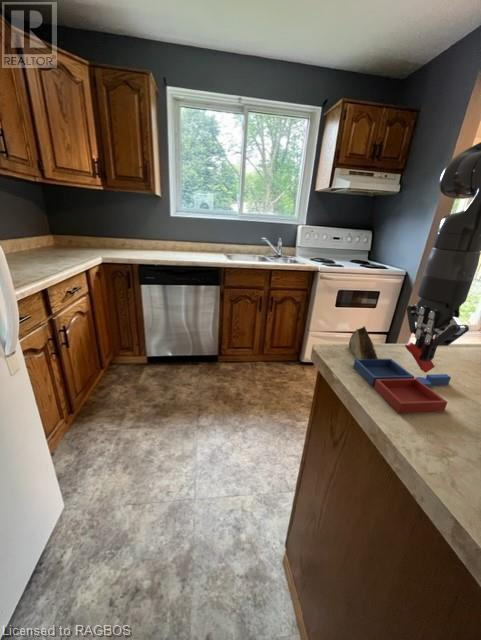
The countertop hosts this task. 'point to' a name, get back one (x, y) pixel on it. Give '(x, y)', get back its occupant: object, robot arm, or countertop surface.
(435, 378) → the blue spoon
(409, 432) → the countertop surface
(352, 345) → the rock
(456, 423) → the countertop surface
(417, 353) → the red spoon
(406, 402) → the red tray
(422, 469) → the countertop surface
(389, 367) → the blue tray
